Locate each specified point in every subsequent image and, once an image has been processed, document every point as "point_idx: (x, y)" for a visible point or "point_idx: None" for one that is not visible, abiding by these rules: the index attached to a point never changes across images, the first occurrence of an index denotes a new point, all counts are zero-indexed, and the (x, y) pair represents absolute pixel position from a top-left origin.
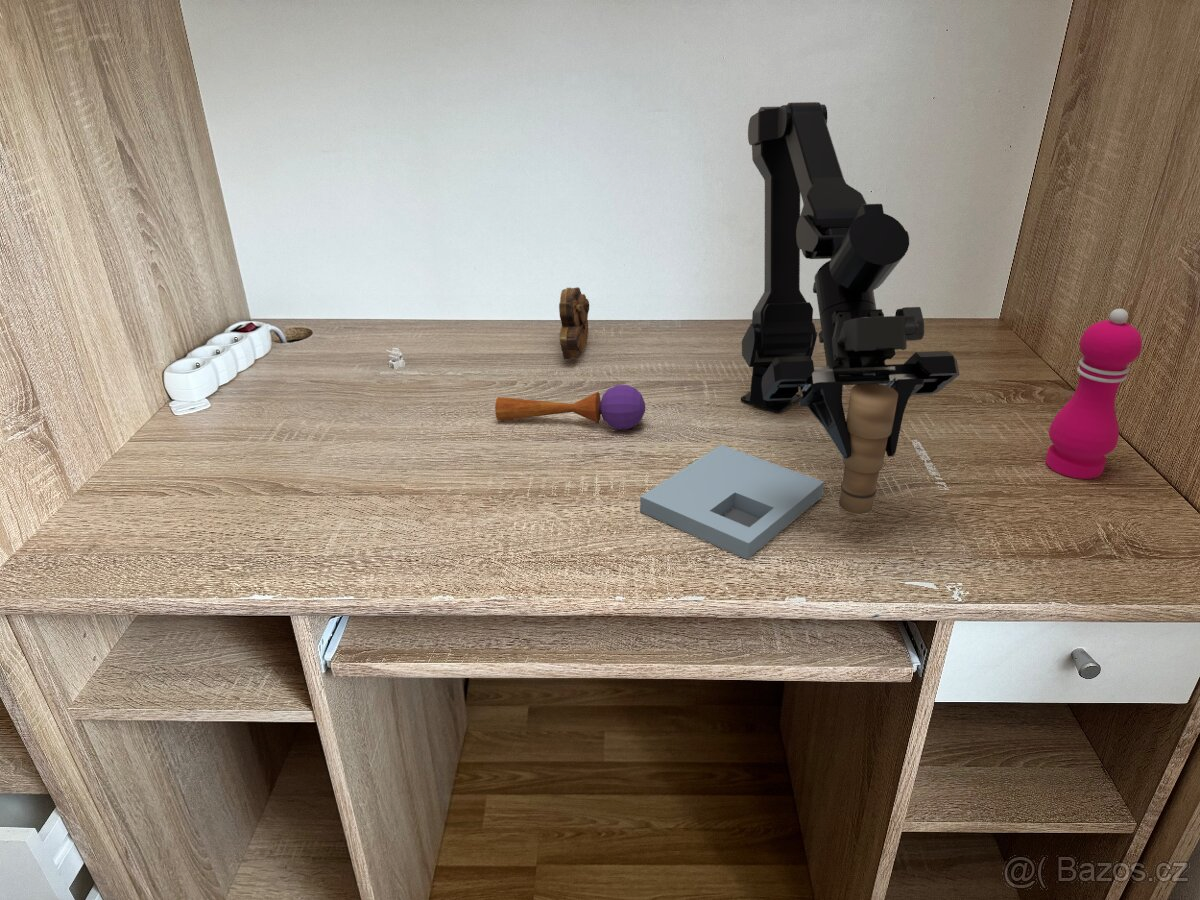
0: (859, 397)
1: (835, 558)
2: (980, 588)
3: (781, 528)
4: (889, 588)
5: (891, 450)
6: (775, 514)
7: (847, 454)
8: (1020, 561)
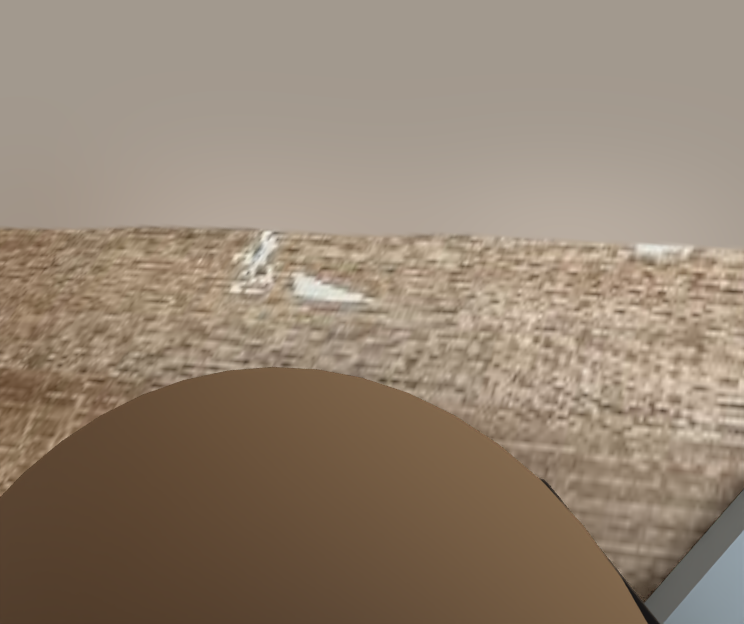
0: (612, 590)
1: (510, 413)
2: (200, 270)
3: (664, 586)
4: (407, 278)
5: None
6: (715, 609)
7: (544, 481)
8: (51, 364)
